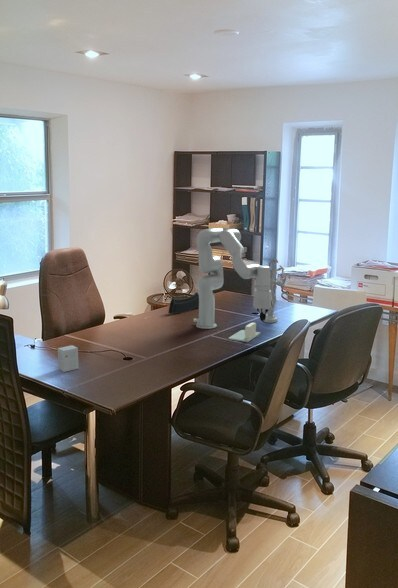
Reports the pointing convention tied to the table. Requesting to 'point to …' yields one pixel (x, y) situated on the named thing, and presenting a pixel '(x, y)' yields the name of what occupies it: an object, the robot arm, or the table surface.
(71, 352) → the small box
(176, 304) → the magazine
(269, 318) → the grey tall branched form
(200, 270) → the robot arm
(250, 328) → the cream rectangular block
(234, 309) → the table surface
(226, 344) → the table surface
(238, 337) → the mat
